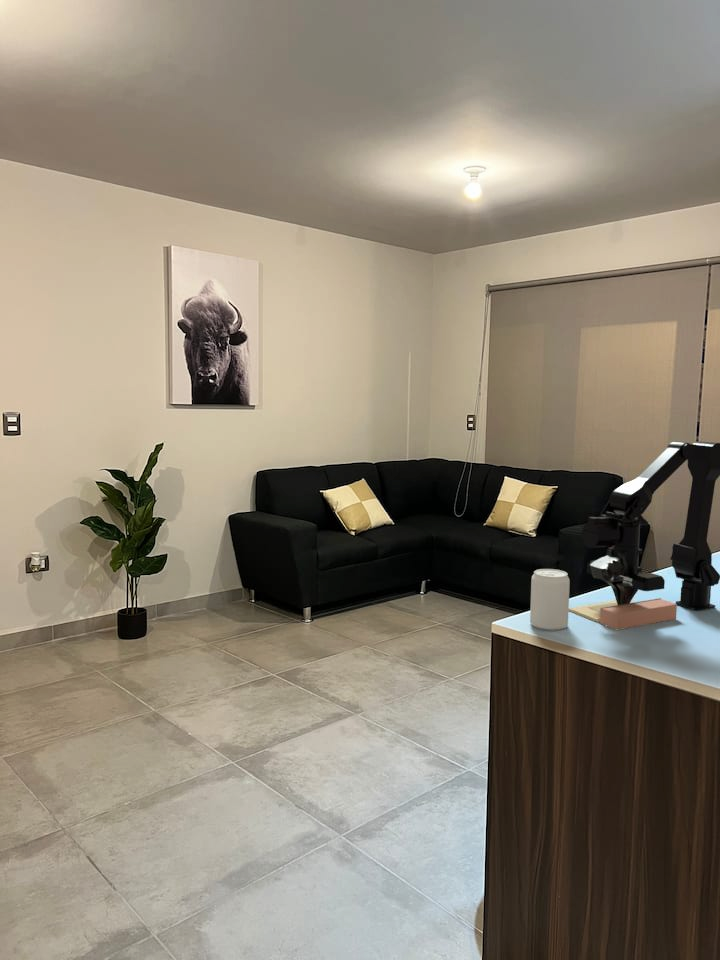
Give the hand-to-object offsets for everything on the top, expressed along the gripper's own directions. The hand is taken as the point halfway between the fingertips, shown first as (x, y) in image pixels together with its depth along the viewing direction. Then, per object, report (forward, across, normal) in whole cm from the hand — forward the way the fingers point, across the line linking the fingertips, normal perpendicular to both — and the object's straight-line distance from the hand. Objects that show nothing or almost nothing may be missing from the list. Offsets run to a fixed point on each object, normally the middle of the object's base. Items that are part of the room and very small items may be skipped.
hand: (622, 611), depth 169 cm
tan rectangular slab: (+1, -4, 0) cm, 4 cm away
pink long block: (+1, +4, 0) cm, 5 cm away
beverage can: (+1, -1, -20) cm, 20 cm away
